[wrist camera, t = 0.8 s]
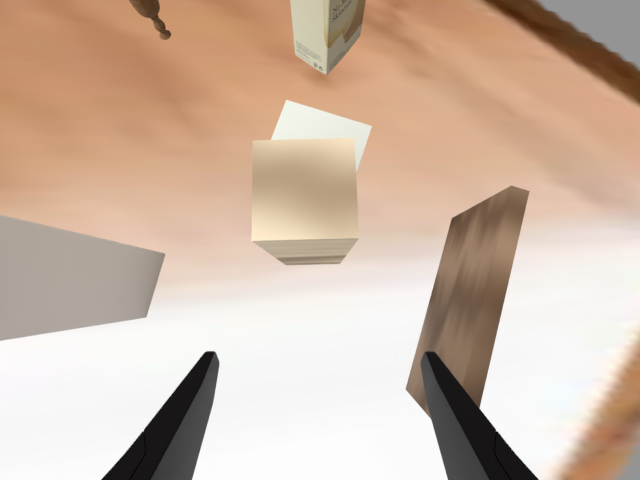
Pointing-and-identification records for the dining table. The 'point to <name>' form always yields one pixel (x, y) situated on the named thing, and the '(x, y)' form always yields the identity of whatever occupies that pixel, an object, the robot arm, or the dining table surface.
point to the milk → (69, 279)
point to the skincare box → (325, 30)
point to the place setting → (152, 15)
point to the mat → (319, 126)
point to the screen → (470, 292)
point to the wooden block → (305, 199)
